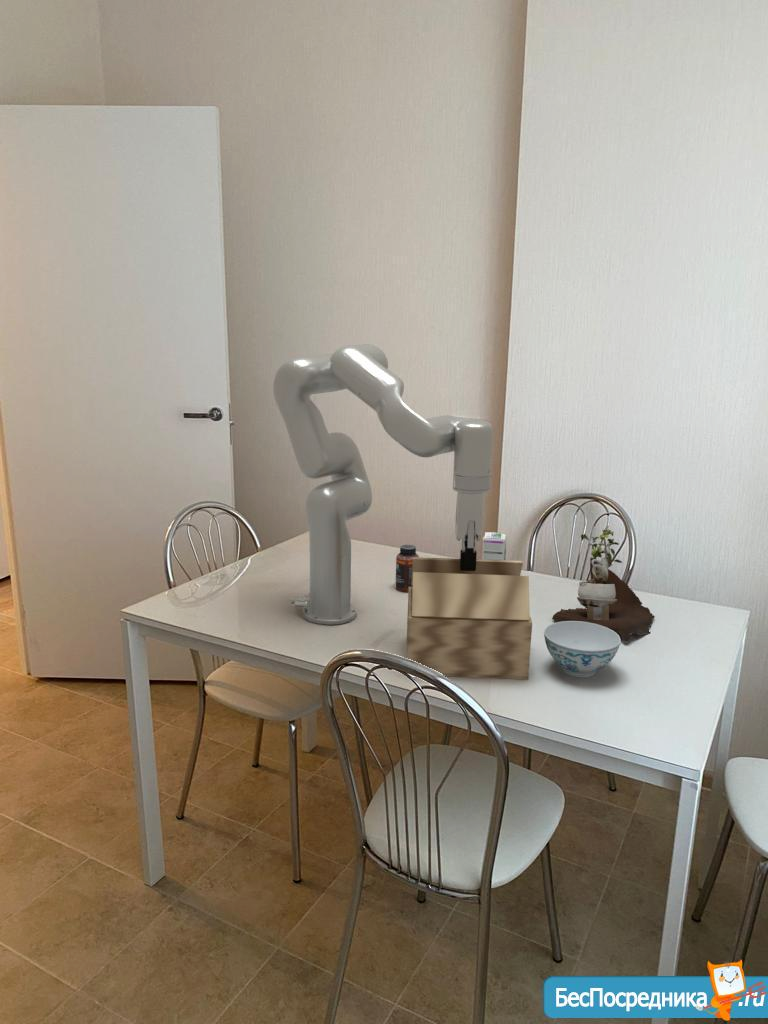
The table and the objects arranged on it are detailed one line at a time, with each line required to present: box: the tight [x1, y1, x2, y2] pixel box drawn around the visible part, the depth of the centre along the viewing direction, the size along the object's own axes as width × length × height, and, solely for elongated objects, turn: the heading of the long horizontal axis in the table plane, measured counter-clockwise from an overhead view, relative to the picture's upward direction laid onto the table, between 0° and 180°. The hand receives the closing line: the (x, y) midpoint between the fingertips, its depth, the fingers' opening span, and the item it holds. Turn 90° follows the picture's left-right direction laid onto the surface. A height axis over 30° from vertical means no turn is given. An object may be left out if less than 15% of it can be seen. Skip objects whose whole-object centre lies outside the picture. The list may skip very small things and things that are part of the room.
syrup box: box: [481, 531, 507, 560], centre depth 212 cm, size 6×6×14 cm
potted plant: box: [551, 528, 656, 644], centre depth 194 cm, size 20×19×25 cm
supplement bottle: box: [395, 544, 420, 593], centre depth 211 cm, size 6×6×11 cm
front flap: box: [412, 572, 531, 620], centre depth 162 cm, size 23×9×1 cm
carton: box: [406, 587, 533, 680], centre depth 171 cm, size 24×18×12 cm
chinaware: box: [543, 621, 621, 678], centre depth 167 cm, size 15×15×8 cm
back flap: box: [411, 556, 524, 585], centre depth 175 cm, size 23×9×1 cm
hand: (467, 569), depth 170 cm, fingers closed
